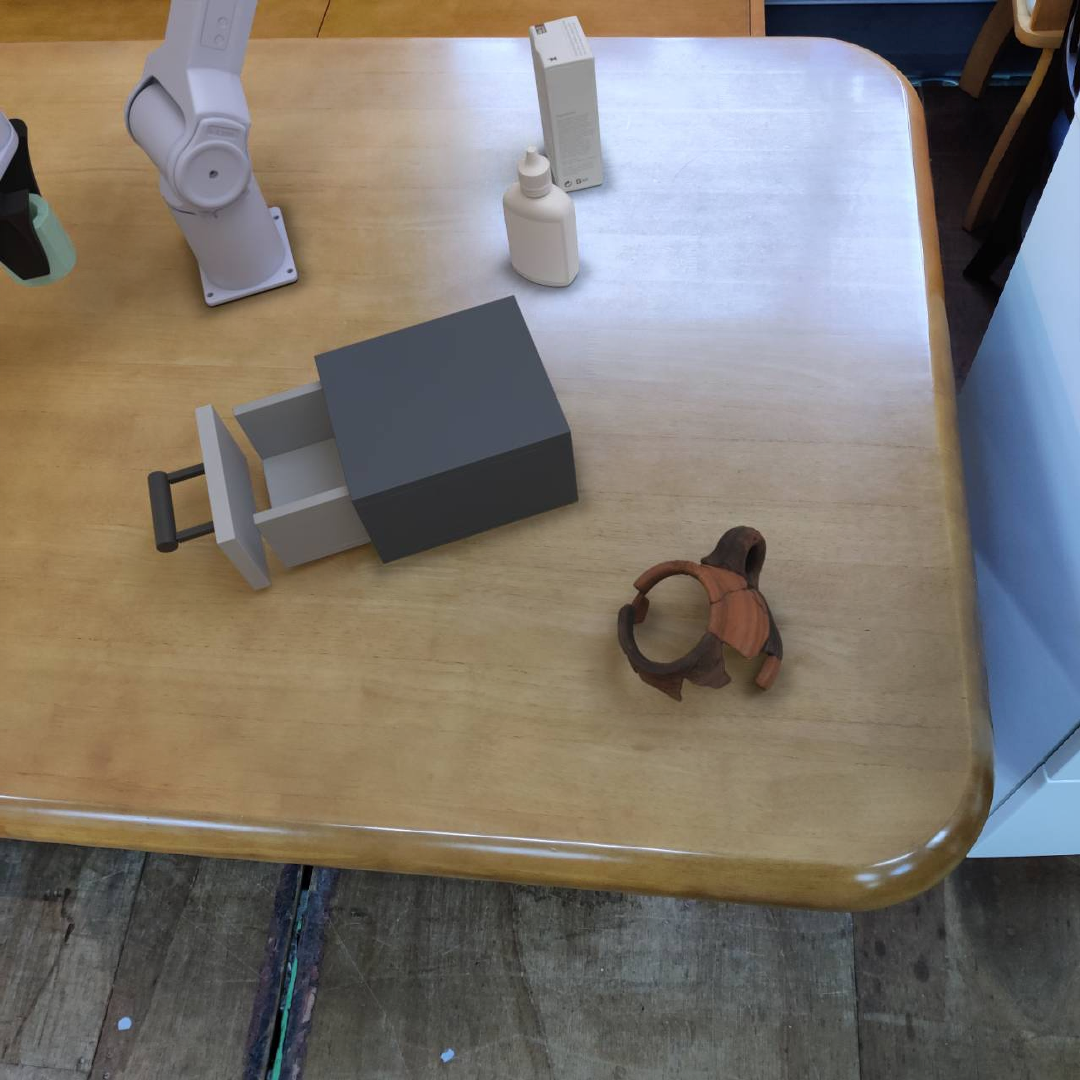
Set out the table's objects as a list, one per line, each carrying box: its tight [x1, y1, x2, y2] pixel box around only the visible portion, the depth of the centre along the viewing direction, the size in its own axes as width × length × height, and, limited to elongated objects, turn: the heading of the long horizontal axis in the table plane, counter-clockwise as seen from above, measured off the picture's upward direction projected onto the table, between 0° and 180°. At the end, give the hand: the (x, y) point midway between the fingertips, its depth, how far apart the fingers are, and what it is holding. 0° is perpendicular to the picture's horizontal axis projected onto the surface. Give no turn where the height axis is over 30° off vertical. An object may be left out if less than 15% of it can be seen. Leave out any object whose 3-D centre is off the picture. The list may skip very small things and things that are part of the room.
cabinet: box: [313, 294, 579, 564], centre depth 67 cm, size 15×13×9 cm
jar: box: [0, 193, 78, 288], centre depth 70 cm, size 5×5×4 cm
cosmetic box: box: [528, 15, 604, 193], centre depth 80 cm, size 6×4×12 cm
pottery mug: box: [616, 525, 784, 703], centre depth 60 cm, size 12×10×8 cm
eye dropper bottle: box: [502, 145, 581, 287], centre depth 74 cm, size 4×6×12 cm
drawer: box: [146, 380, 372, 591], centre depth 66 cm, size 18×11×7 cm, turn 108°
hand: (35, 249), depth 71 cm, fingers closed on jar, 5 cm apart
